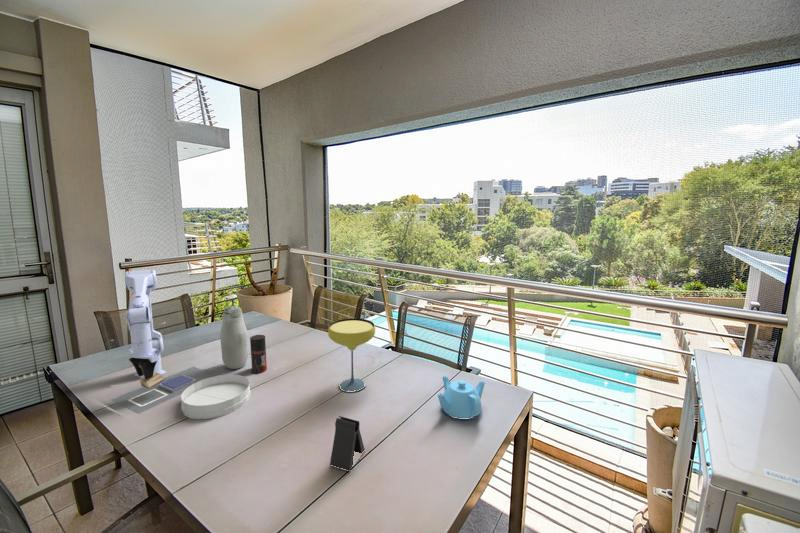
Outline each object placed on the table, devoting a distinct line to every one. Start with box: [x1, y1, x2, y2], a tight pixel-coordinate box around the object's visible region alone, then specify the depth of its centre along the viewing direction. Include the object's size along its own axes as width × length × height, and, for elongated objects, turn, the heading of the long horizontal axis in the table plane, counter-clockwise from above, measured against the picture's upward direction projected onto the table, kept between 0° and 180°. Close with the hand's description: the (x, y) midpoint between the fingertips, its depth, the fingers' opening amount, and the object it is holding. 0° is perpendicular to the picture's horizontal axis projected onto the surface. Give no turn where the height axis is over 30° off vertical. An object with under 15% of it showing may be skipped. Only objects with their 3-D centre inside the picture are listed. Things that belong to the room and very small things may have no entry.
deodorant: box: [249, 334, 268, 374], centre depth 146 cm, size 6×6×15 cm
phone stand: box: [329, 415, 366, 470], centre depth 95 cm, size 9×6×12 cm, turn 158°
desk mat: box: [111, 366, 220, 414], centre depth 132 cm, size 18×30×1 cm, turn 153°
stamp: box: [138, 365, 164, 389], centre depth 124 cm, size 5×5×9 cm
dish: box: [180, 374, 251, 420], centre depth 123 cm, size 22×22×5 cm
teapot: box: [437, 375, 486, 418], centre depth 119 cm, size 15×15×11 cm
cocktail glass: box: [327, 318, 376, 391], centre depth 133 cm, size 18×18×25 cm
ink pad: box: [159, 375, 196, 393], centre depth 133 cm, size 9×9×2 cm
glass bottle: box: [219, 305, 249, 370], centre depth 148 cm, size 10×10×28 cm
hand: (145, 376), depth 123 cm, fingers closed on stamp, 4 cm apart
